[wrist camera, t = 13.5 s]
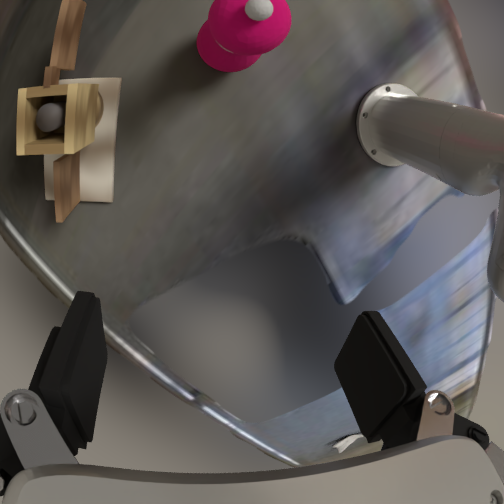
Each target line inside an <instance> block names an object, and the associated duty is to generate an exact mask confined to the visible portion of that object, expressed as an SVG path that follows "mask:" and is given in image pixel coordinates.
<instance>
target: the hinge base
mask: <svg viewBox="0 0 504 504" xmlns="http://www.w3.org/2000/svg"><path fill="white" fill-rule="evenodd" d="M121 82H122V78H83V79H65V80H59V85H60V84H75V83H86V84H99V89H98V99H97V109H96V122H95V138H94V142H92V143H91V144H89V145H87V146H86V147H84V148H82V149H81V150H79V151H77V152H76V153H74V154H44V179H45V197H46V200H55V214H56V222H63V221H64V220H65V218H66V217H67V216H68V215H69V214H70V212H71V211H72V210H73V209H74V208H75V206H76V205H77V204H78V203H79V202H80V201H94V202H113V198H114V161H115V143H116V129H117V117H118V107H119V98H120V89H121ZM66 102H67V95H54V102H53V103H48V104H45V105H43V106H42V107H41V108H40V109H39V110H38V112H37V115H36V123H37V126H38V127H39V129H40V130H42V131H44V132H49V131H52V133H65V116H66Z"/></svg>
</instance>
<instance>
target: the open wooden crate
mask: <svg viewBox="0 0 504 504" xmlns="http://www.w3.org/2000/svg"><path fill="white" fill-rule="evenodd" d="M85 8H86V3H85V2H84V1H82V0H62V4H61V8H60V12H59V17H58V21H57V26H56V31H55V36H54V42H53V48H52V54H51V61H50V66H49V67H45V74H44V83H43V86H38V87H30V88H22V89H19V91H18V105H17V155H39V154H74V153H76V152H77V151H79V150H81V149H82V148H84V147H86V146H87V145H89V144H91V143H92V142H94V138H95V122H96V109H97V99H98V89H99V84H86V83H75V84H60V85H59V76H60V70H74V68H75V61H76V54H77V48H78V42H79V37H80V31H81V26H82V21H83V17H84V12H85ZM54 95H67V102H66V116H65V133H52V131H49V132H44V131H42V130H40V129H39V127H38V126H37V123H36V115H37V112H38V110H39V109H40V108H41V107H42V106H43V105H45V104H48V103H53V102H54Z"/></svg>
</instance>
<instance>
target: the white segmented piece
mask: <svg viewBox="0 0 504 504" xmlns="http://www.w3.org/2000/svg"><path fill="white" fill-rule="evenodd" d="M359 437H364V436H363V435H362V434H356V435H351V436H348V437H346V438H345V439H343V440H341V441H339V442H338V443H336V444H334V445H333V448H334V447H337V448H338V451H339V453H341V452H342V451H343V450H345V449H346V447H347V446H349V445H350V444H351V443H352V442H354V441H355V440H356V439H357V438H359Z"/></svg>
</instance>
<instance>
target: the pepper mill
mask: <svg viewBox="0 0 504 504" xmlns="http://www.w3.org/2000/svg"><path fill="white" fill-rule="evenodd" d="M290 27H291V13H290V9H289V7H288V4H287V3H286V1H285V0H215V1H214V2H213V4H212V6H211V8H210V11H209V15H208V20H207V21H206V22H205V23H204V24H203V26H202V27H201V29H200V31H199V33H198V36H197V49H198V52H199V54H200V56H201V58H202V59H203V61H204V62H205V63H207V64H208V65H209V66H211V67H212V68H214V69H217V70H219V71H224V72H237V71H241V70H243V69H246V68H248V67H249V66H251V65H252V64H254V63H255V62H256V61H257V60H258V58H259V57H260V56H261V54H263V53H266V52H269V51H271V50H272V49H274V48H275V47H277V46H279V45H280V44H281V43H282V42H283V41H284V39H285V38H286V36H287V35H288V33H289V30H290Z"/></svg>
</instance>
